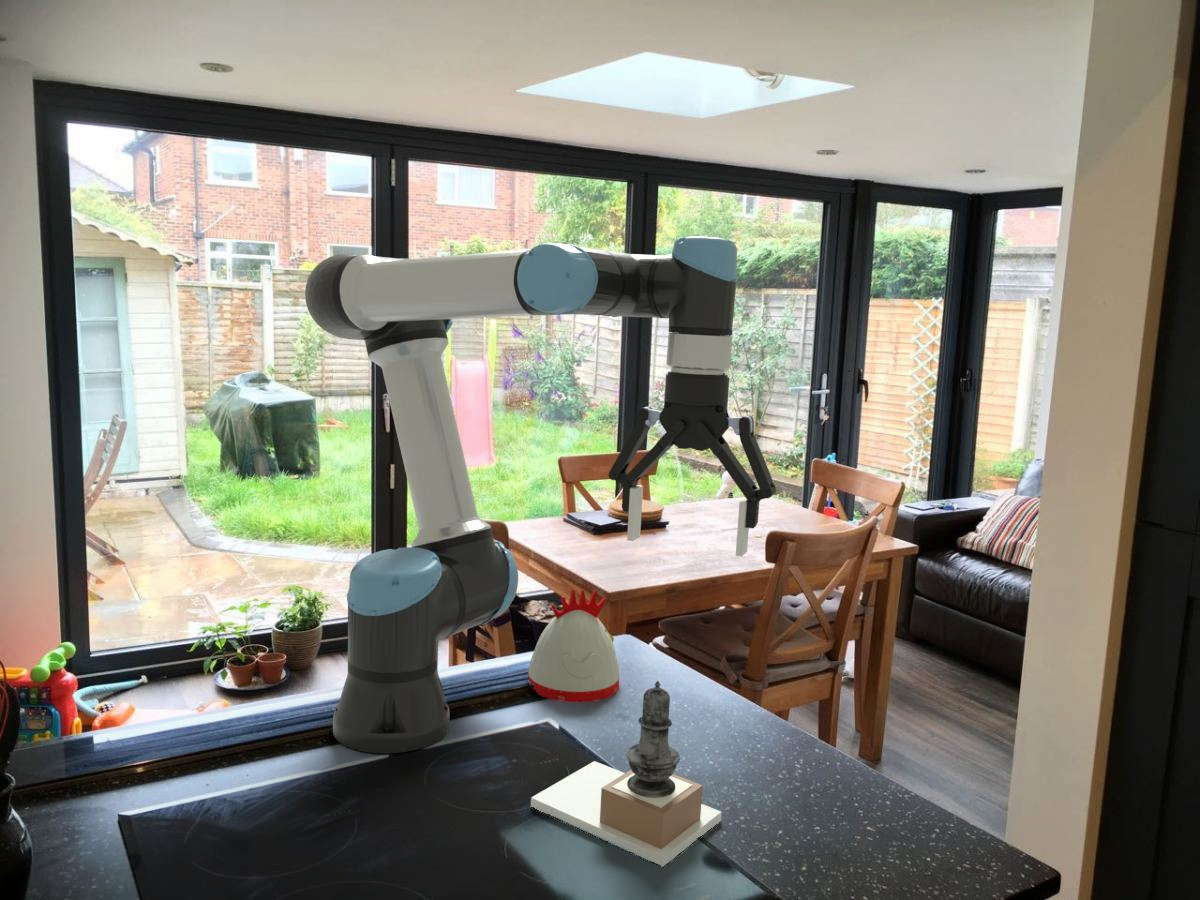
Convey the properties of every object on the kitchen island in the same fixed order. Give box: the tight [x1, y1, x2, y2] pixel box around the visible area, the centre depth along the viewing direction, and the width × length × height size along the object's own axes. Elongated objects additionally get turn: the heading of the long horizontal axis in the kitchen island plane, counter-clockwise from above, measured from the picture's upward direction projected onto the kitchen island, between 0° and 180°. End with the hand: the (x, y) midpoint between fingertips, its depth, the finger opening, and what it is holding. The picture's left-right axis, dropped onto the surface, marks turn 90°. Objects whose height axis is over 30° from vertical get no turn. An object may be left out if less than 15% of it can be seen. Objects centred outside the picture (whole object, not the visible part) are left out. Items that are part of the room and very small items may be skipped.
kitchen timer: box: [527, 588, 620, 703], centre depth 144 cm, size 14×14×15 cm
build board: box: [530, 760, 722, 866], centre depth 108 cm, size 18×12×5 cm, turn 53°
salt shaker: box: [625, 680, 681, 798], centre depth 103 cm, size 6×6×12 cm
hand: (686, 546), depth 115 cm, fingers open, 13 cm apart
